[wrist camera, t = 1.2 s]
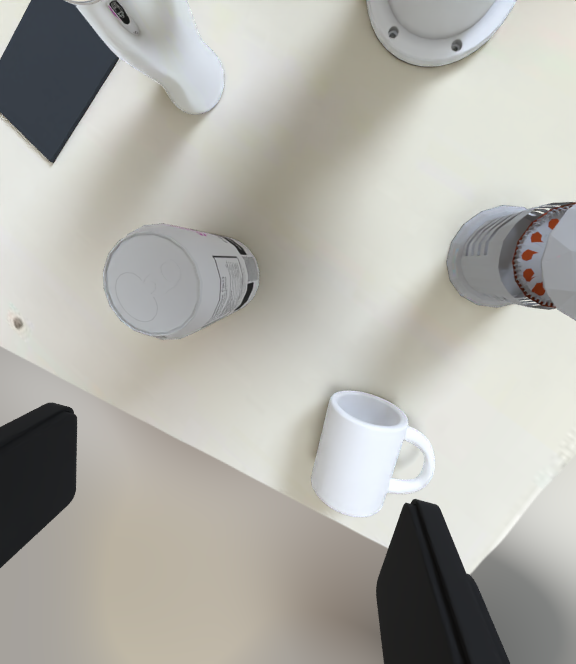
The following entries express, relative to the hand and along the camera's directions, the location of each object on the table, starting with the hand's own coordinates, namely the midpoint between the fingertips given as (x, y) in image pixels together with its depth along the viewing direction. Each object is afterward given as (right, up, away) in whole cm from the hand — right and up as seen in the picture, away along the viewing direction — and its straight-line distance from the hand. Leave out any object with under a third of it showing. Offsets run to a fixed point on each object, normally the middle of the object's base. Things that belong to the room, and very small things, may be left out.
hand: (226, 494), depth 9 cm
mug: (+12, -7, +29) cm, 32 cm away
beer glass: (-8, +30, +23) cm, 38 cm away
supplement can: (-5, +11, +27) cm, 30 cm away
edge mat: (-21, +34, +24) cm, 47 cm away
